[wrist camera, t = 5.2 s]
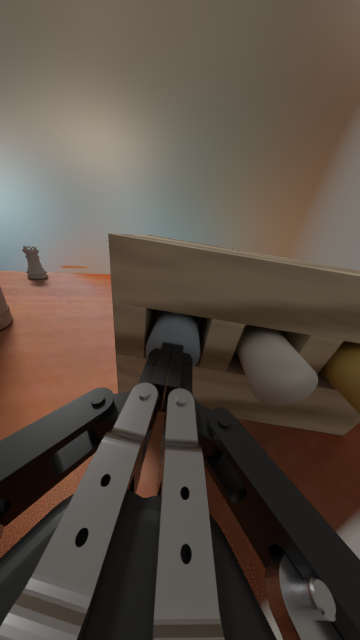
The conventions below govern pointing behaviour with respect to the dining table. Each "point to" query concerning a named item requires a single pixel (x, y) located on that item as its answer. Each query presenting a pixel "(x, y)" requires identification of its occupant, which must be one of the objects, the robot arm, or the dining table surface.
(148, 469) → the dining table surface
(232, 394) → the block
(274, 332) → the white button
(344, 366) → the ochre button
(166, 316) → the slate button
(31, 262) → the rook chess piece
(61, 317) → the dining table surface
